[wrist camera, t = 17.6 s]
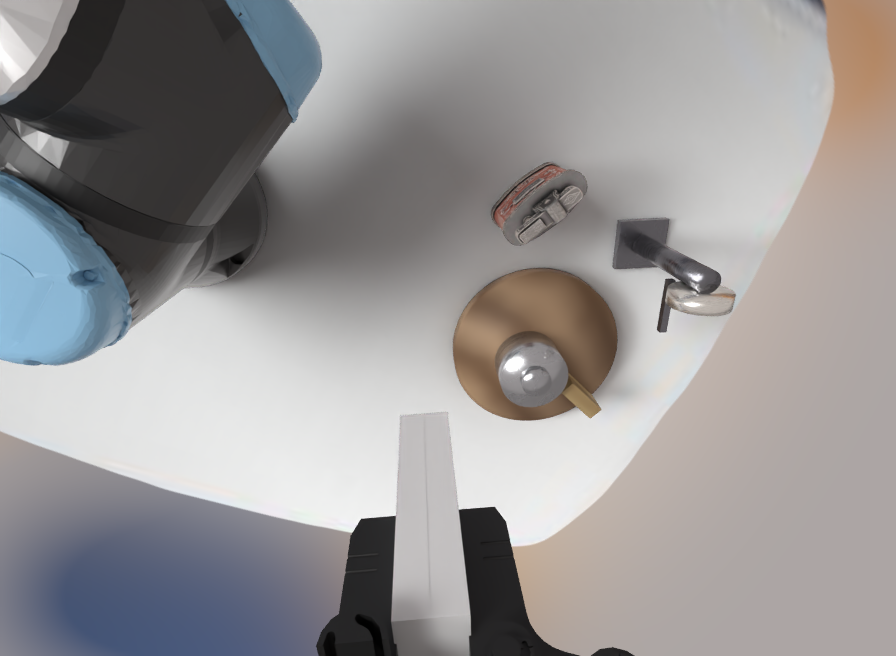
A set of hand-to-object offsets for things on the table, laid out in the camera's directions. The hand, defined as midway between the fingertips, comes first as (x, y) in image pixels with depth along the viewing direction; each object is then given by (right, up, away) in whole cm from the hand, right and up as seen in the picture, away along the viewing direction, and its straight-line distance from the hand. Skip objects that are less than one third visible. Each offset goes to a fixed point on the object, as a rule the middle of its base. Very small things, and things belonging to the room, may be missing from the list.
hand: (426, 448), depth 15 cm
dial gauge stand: (+21, +11, +34) cm, 42 cm away
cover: (+9, 0, +36) cm, 37 cm away
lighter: (+8, +17, +31) cm, 36 cm away
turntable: (+10, +2, +38) cm, 39 cm away
